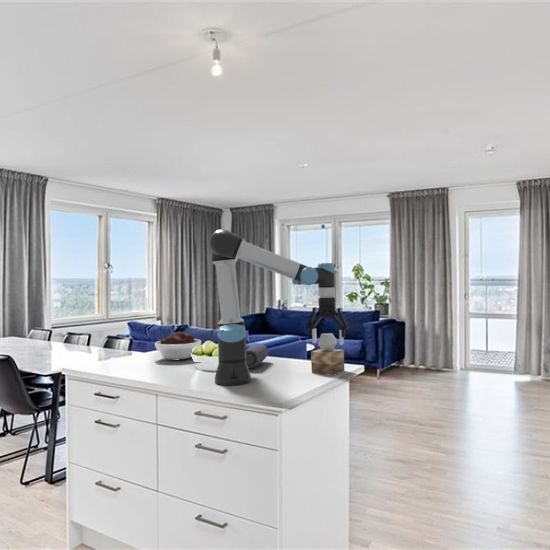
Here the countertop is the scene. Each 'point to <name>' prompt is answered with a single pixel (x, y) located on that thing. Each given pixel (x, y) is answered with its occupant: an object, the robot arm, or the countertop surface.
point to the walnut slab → (327, 368)
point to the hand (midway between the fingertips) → (327, 343)
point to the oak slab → (327, 356)
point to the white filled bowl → (177, 346)
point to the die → (327, 342)
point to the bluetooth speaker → (256, 355)
